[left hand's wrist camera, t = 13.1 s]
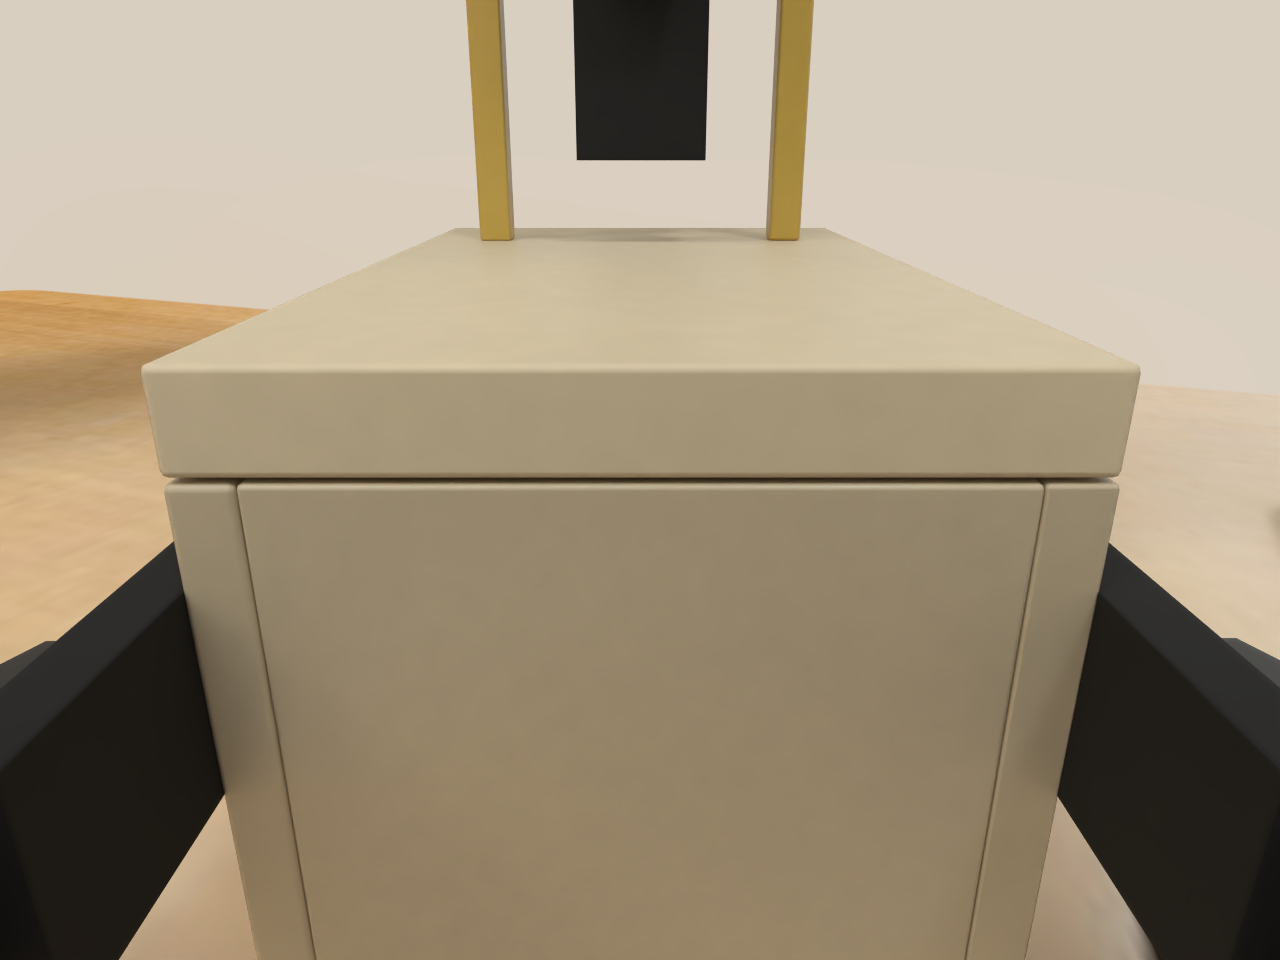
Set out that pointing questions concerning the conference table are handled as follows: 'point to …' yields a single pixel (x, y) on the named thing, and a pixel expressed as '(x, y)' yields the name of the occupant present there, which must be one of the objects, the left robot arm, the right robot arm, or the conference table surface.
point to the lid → (640, 349)
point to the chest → (641, 710)
